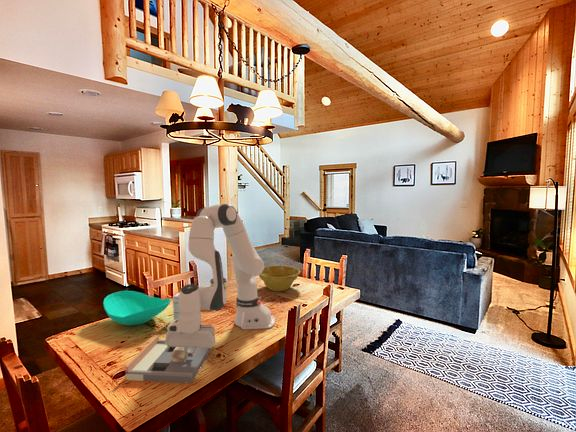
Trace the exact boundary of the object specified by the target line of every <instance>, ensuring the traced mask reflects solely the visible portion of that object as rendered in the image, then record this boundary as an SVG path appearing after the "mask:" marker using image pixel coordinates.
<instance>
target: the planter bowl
mask: <svg viewBox="0 0 576 432" xmlns="http://www.w3.org/2000/svg"><path fill="white" fill-rule="evenodd" d="M300 273H301V270H300V269H298V268H296V267H293V266H288V265H268V266H264V270H263V272H262V273H261V274H260V275H258V277H259V279H260V280H261V281H263V283H264V285H265V287H266V288H267V289H268V290H270V291H271V292H272V291H273V292H285V291H287V290H288V289H290V288H291V286H292V285H293V282H294V281H296V280H297V279H298V277H299V275H300Z"/></svg>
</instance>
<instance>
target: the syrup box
mask: <svg viewBox="0 0 576 432" xmlns="http://www.w3.org/2000/svg"><path fill="white" fill-rule="evenodd" d="M179 293H180V292H178V293H176V294H175V295H173V296H172V309H173V311H172V312H173V321H174V320H176V319H179V316H180V312H179Z"/></svg>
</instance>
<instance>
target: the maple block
mask: <svg viewBox="0 0 576 432" xmlns="http://www.w3.org/2000/svg"><path fill="white" fill-rule="evenodd" d="M188 348H189V347H188ZM186 358H187V353H186V351H185V350H184V347H176V348H175V349H174V350H173V352H172V361H173V362H184V361H185V360H186Z"/></svg>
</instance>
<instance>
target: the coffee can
mask: <svg viewBox="0 0 576 432" xmlns="http://www.w3.org/2000/svg"><path fill="white" fill-rule="evenodd" d="M223 279H224V287H225V292H226V293H227V279H226V278H225V277H223ZM209 281H210V287H214V281H213V278H210V280H209ZM227 299H228V298H227V297H226V301H227Z"/></svg>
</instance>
